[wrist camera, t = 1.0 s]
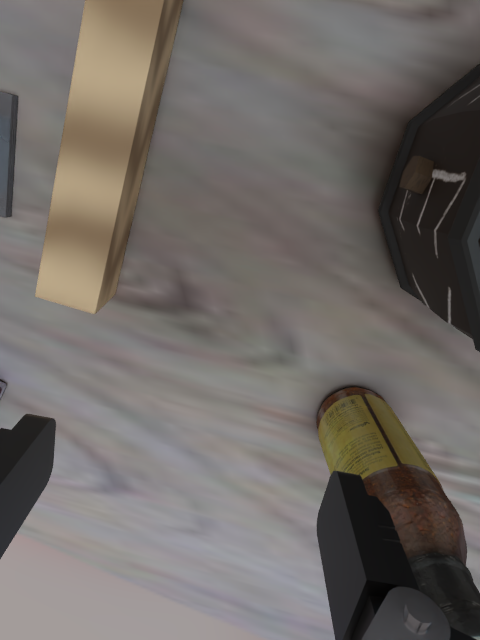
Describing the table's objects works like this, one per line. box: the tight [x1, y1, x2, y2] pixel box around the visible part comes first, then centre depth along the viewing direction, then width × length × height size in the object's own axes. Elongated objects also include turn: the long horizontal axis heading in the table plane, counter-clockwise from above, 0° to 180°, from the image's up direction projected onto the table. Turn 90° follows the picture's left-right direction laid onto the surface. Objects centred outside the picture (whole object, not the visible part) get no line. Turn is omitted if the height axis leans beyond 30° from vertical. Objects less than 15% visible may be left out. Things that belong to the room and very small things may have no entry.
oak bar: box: [35, 0, 183, 314], centre depth 28 cm, size 22×4×5 cm, turn 162°
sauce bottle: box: [317, 387, 480, 640], centre depth 28 cm, size 6×6×20 cm
